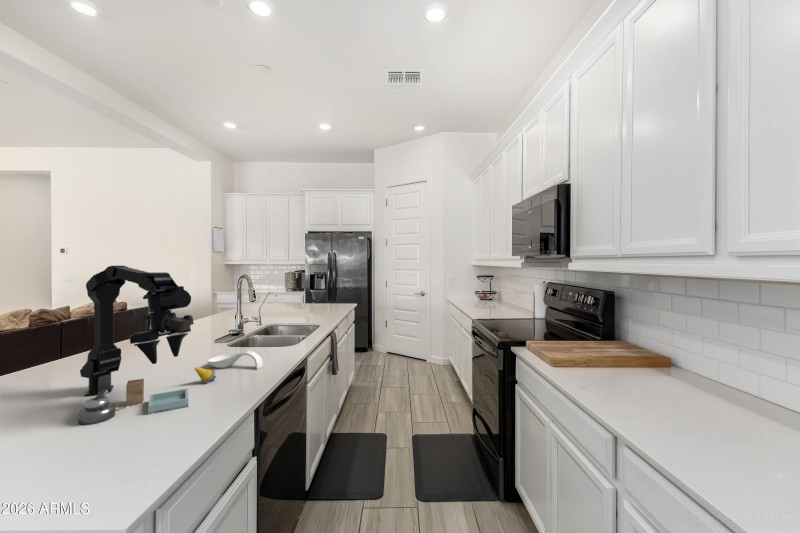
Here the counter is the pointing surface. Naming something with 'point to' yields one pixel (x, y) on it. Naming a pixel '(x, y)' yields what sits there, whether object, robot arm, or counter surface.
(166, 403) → the tray
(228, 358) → the spoon rest
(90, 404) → the crank
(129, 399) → the block
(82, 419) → the crank base
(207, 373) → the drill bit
